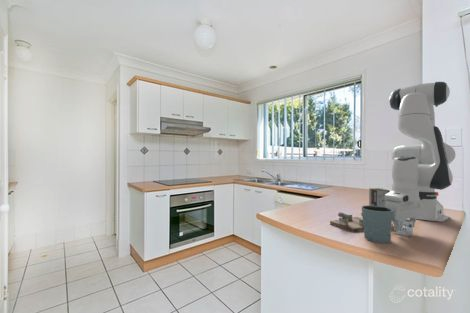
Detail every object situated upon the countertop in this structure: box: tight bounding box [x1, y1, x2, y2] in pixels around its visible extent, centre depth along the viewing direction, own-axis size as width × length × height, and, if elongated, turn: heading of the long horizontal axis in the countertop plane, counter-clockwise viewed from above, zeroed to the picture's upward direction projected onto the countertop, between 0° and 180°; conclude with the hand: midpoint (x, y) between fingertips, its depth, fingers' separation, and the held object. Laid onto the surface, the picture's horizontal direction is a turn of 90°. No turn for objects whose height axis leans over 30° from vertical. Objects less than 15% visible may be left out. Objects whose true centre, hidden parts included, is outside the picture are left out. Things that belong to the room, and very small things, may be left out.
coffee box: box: [368, 187, 391, 207], centre depth 106 cm, size 9×6×16 cm
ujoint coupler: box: [395, 219, 414, 238], centre depth 89 cm, size 4×5×6 cm
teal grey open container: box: [361, 204, 393, 244], centre depth 84 cm, size 10×10×12 cm
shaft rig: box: [329, 211, 364, 233], centre depth 100 cm, size 21×12×7 cm, turn 115°
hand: (404, 228), depth 89 cm, fingers open, 8 cm apart
